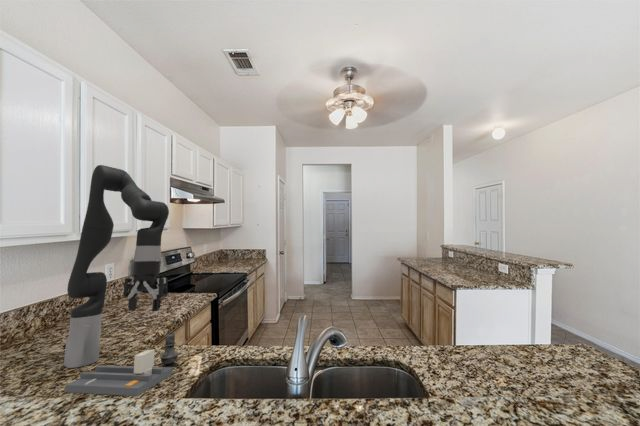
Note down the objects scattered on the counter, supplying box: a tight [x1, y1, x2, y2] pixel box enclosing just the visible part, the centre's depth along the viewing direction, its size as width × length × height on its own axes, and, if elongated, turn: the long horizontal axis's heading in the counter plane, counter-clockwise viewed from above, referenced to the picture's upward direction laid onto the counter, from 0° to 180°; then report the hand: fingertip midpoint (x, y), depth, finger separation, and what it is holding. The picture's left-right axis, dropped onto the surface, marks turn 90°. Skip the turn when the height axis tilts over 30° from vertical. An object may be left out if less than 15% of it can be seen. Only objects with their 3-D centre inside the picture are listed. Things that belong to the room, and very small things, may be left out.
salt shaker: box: [159, 330, 179, 368], centre depth 96 cm, size 6×6×12 cm
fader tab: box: [133, 349, 156, 374], centre depth 84 cm, size 3×5×7 cm, turn 171°
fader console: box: [64, 364, 174, 397], centre depth 84 cm, size 24×14×4 cm, turn 81°
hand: (144, 310), depth 87 cm, fingers open, 8 cm apart
